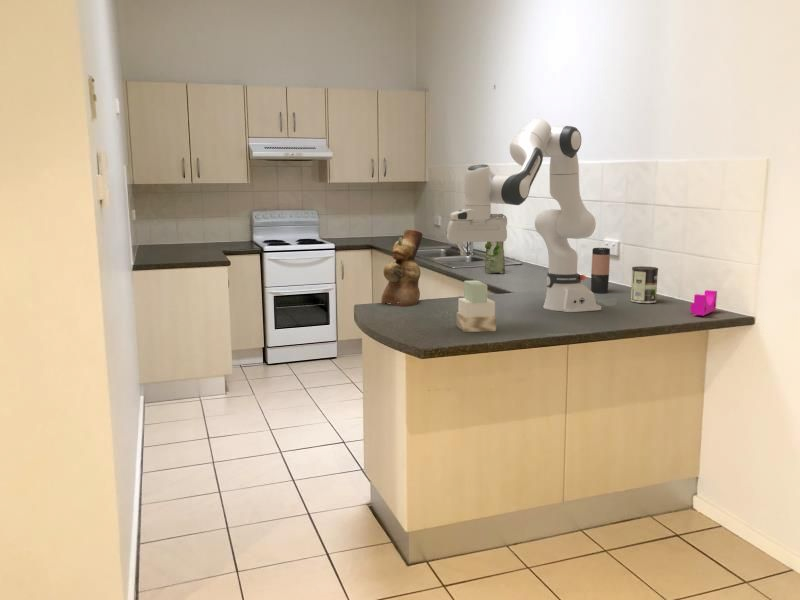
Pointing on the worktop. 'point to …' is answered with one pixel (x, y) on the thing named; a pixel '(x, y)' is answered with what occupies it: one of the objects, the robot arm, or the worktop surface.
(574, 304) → the robot arm
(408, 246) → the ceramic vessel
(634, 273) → the coffee can
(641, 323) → the worktop surface
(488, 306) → the tower top
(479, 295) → the green bar
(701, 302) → the toy block
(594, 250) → the travel mug
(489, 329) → the tower base
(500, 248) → the pouch
